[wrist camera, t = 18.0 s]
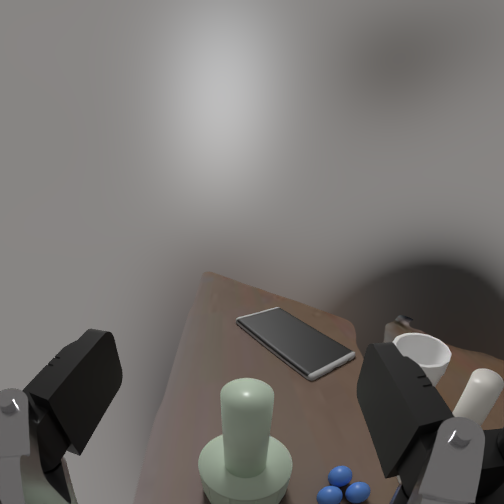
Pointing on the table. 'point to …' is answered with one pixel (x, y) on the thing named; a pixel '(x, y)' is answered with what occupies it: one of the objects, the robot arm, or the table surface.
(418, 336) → the foam cup
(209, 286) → the table surface
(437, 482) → the robot arm
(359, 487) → the marble
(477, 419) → the white joystick
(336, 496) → the marble
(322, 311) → the table surface
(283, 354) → the smartphone
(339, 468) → the marble
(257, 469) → the pale green pedestal post
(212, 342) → the table surface
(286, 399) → the table surface
